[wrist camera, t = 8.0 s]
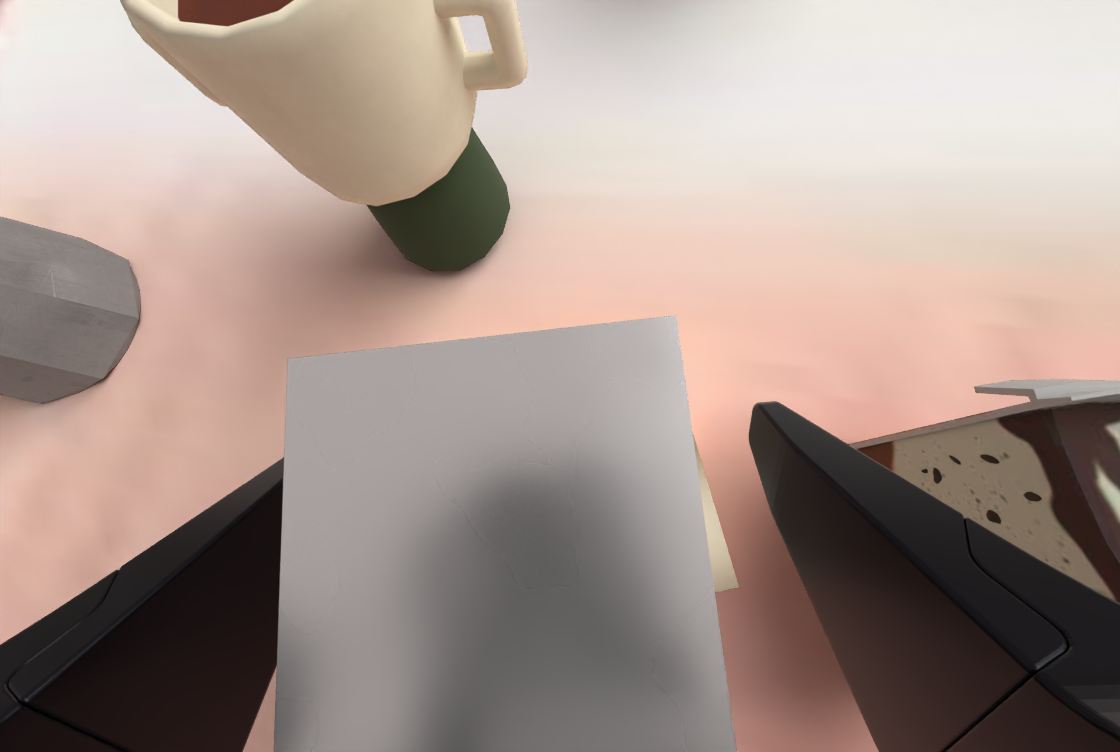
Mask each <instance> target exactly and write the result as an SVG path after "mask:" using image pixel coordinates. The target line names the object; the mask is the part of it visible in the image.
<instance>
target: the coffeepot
mask: <svg viewBox="0 0 1120 752" xmlns="http://www.w3.org/2000/svg"><path fill="white" fill-rule="evenodd" d="M140 308H141V300H140V290H139V286H138V283H137V280H136V277H135V275H134V274H133V272H132V270H131V268H130V265H129V260H127V259H125V258H123V257H121V256H118V255H116V254H114V253H112V252H110V251H108V250H106V249H103V248H101V247H99V246H97V245H95V244H93V243H91V242H88V241H86V240H84V239H82V238H78V237H74V236H71V235H67V234H63V233H60V232H56V231H52V230H48V229H45V228H41V227H37V226H34V225H30V224H26V223H22V222H19V221H15V220H11V219H8V218H4V217H0V394H1V395H5V396H10V397H14V398H19V399H23V400H28V401H32V402H37V403H41V404H43V403H46V402H49V401H53V400H56V399H59V398H62V397H65V396H68V395H72V394H75V393H78V392H81V391H83V390H85V389H87V388H89V387H91V386H92V385H94V384H96V383H97V382H98V381H100V380H102V379H103V378H104V377H105V376H106V375H107V374H108V373H109V372H110V371H111V370H112V369H113V368H114V367H115V366H116V365H117V364H118V363H119V361H120V360H121V358H122V357H123V355H124V354H125V352H126V351H127V350H128V348H129V345H130V343H131V341H132V339H133V337H134V335H135V332H136V329H137V325H138V322H139V316H140Z"/></svg>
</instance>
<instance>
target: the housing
mask: <svg viewBox="0 0 1120 752" xmlns="http://www.w3.org/2000/svg"><path fill="white" fill-rule="evenodd" d="M274 752H737V749H736V742H735V735H734V728H733V721H732V713H731V706H730V699H729V692H728V685H727V677H726V670H725V663H724V656H723V649H722V641H721V634H720V627H719V620H718V613H717V605H716V598H715V591H714V584H713V577H712V569H711V562H710V555H709V548H708V541H707V533H706V526H705V519H704V512H703V505H702V497H701V490H700V483H699V476H698V469H697V461H696V454H695V447H694V440H693V433H692V425H691V418H690V411H689V404H688V397H687V389H686V382H685V375H684V368H683V361H682V353H681V346H680V339H679V332H678V325H677V317H676V315H675V316H667V317H658V318H649V319H640V320H631V321H622V322H613V323H604V324H595V325H586V326H577V327H568V328H559V329H550V330H541V331H532V332H523V333H514V334H505V335H496V336H488V337H479V338H470V339H461V340H452V341H443V342H434V343H425V344H416V345H407V346H398V347H389V348H380V349H371V350H362V351H353V352H344V353H335V354H326V355H317V356H309V357H300V358H291V359H288V363H287V391H286V420H285V448H284V477H283V505H282V533H281V562H280V590H279V619H278V647H277V675H276V704H275V732H274Z"/></svg>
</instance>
